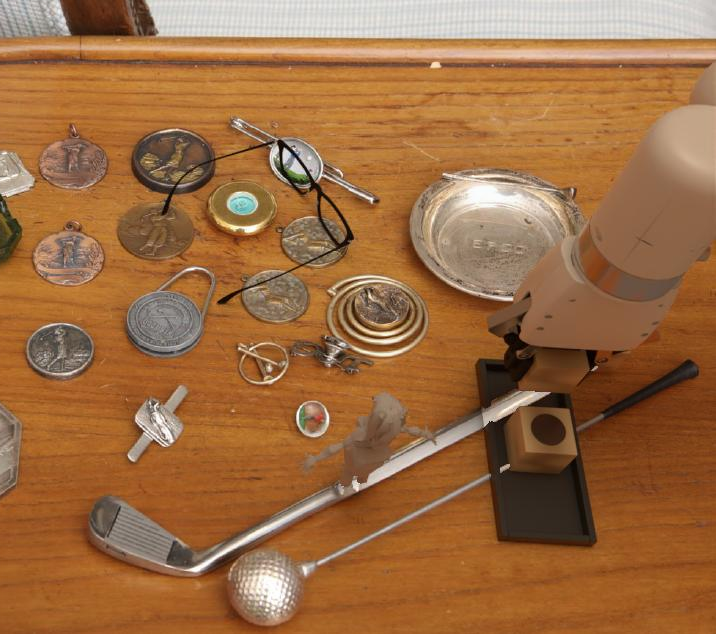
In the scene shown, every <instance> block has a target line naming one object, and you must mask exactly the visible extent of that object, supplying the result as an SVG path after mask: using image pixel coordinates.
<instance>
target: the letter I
mask: <svg viewBox="0 0 716 634" xmlns="http://www.w3.org/2000/svg"><path fill="white" fill-rule="evenodd" d="M533 360H534V361H533V364H532V365H531V367H530V368H529V369H528V371H527V372H526V373H525V375H524V376H523V377H522V379H521V380H520V381H519V382H518V384H519V390H520V391H535V392H551V393H567V394H569V393H570V394H571V393H572V392H573V391H574V390H575V388H576V387H578V386H577V384H578V383H579V382H580V381H581V380H582V379H583V377H584V376H585V375H586V374H587V373H588V372H589V370H590V368H589V364H588V359H587V354H586V349H571V348H556V347H543V348H542V349H540V350H539V351H538V352H536V353H535V354H534V355H533Z"/></svg>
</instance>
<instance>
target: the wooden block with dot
mask: <svg viewBox="0 0 716 634" xmlns="http://www.w3.org/2000/svg"><path fill="white" fill-rule="evenodd" d="M503 428H504V435H505V443H506V450H507V457H508V464H510V467H509V471H516V472H532V473H549V474H559V473H560V472H561V471H562V470H563V469H564V468H565V467H566V466H567V465H568V464H569V463H570V462H571V461H572V460H573V459H574V458H575V457H576V456H577V455H578V454H577V449H576V443H575V438H574V432H573V427H572V422H571V416H570V411H569V409H563V408H546V407H530V406H519V407H518V408H517V409H516V411H515V412H514V413H513V415H512V416H511V417H510V419H509V420H508V421H507V422H506V424H505V425H504V426H503Z"/></svg>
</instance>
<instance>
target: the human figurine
mask: <svg viewBox="0 0 716 634" xmlns="http://www.w3.org/2000/svg"><path fill="white" fill-rule="evenodd" d="M371 401H372V403H373V405H372V408H371V411H370V412H369V414H368V416H366V415H359V416H358V417H357V418H356V420H355V421H354V423H355V425H356V427H355V429H354V430H353V431H352V432H350V434H349V435H347V436H346V437H344V439H343V440H342V441H341V442H337V443H334V444H330V445H328V446H327V447H325V448H323V450H321V451H320V452H319V453H318V454H316V455H315V456H314V455H311V454H309V453H307V452H305V453H304V455H305V456H306V459H305V461H303V462H299V463H298V466H301V467H299V468H298V470H299V471H301V470H303V471H302V474H305V476H308V475H309V472H310V471H311V469H313V467H314V466H315V465H316V464H317V463H318V462H321V461H324V460H327V459H329V458H332V457H333V456H335V455H337V454H339V453H340V452H341V451H342V450H343V461H344V465H343V466H342V471H341V472H342V474H341V475H340V478H339V483H340V484H341V486H344V487H345V488H349V487H352V484H351V483H352V480H353V479H354V478H357V482H358V483H360V484H361V485H362V484H367V483H368V479H369V476H370V475H371V474H372V473H374V472H375V471H376V470H377V469H379V468H381V467H383V466H384V464H385V462H387V461H390V460H391V457H392V455H391V454H392V453H391V446H390V445H391V444H392V442H393V441H394V440H396V439H397V436H398V435H400V434H403V435H404V434H408V435H410V437H413V438H426V439H427V440H429V441H431V442H432V443H433V444H434V446H438V444H437V443H438V441H437V437H436V436H434V435H435V432H431V431H430V430H429V429H428V425H425V426H424V429H421V428H419V427H418V426H417V425H416V426H415V425H414V426H408V425H407V424H406V423H407V415H408V413H409V409H408V408H405V405H404V404H403V403H402V402H400V401H399V399H398V398H397V397H395V396H394V395H391V393H389V392H387V391H382V392H379V393H377V394H375V395H373V396H372V397H371Z"/></svg>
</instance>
